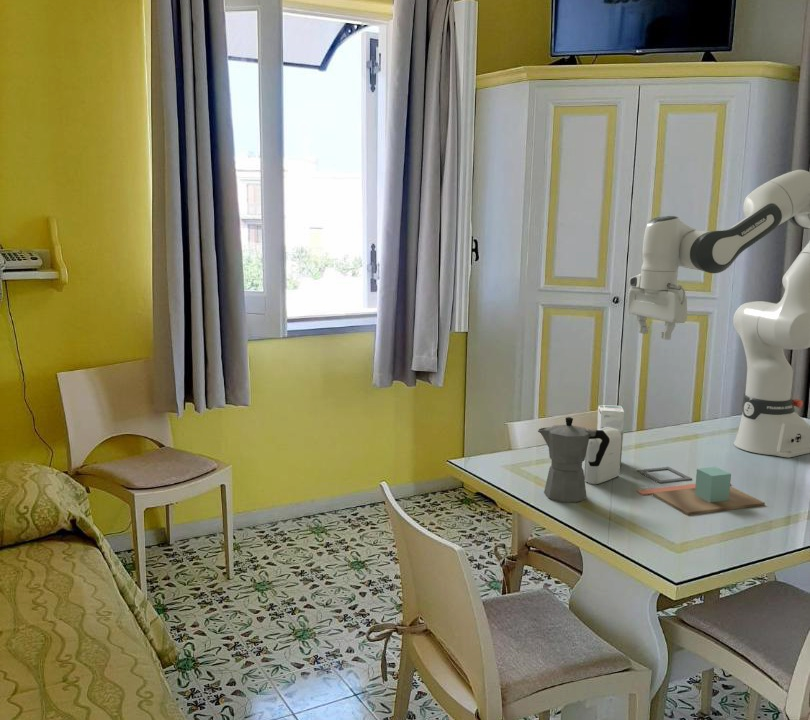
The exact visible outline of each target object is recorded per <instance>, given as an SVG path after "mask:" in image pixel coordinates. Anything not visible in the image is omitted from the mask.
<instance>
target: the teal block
mask: <svg viewBox="0 0 810 720" xmlns="http://www.w3.org/2000/svg"><path fill="white" fill-rule="evenodd" d="M731 479H732V473H730V472H729V471H728V472H727V471H725V470H724V469H721V468H719V467H717V466H713V467H702V468H696V475H695V484H696V485H695V495H696V496H698V497H700V498H702V499H704V500H706V501H708V502H718V501H726V500H729V492H730V486H731V485H730V483H731V482H732V480H731Z"/></svg>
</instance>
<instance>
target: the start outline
mask: <svg viewBox="0 0 810 720" xmlns="http://www.w3.org/2000/svg"><path fill="white" fill-rule="evenodd" d="M657 470H659V471H667V470H668V471H669V472H670V473H674V474H676V475H677V476H680V478H671V479H669V478H668V479H659V478H657V477H655V476H654V475H652V474H649V473H648V472H646V471H649V472H657ZM636 472H638V473H639V472H640V474H641V473H642V475H643V474H644V475H643V476H645V475H646V476H645V477H647V476H648V477H647V478H649V479H651V480H653V481H654V480H655V482H656V481H657V482H656V483H659V484H664V483H665V484H667V483H675V482H683V481H690V480H691V481H692V480H693V478H692V477H690V476H688V475H686V474H684V473H682V472H679V471H678V470H676V469H674V468H671V467H669V466H665V467H664V466H662V467H655V468H645V469H644V468H643V469H637V470H636Z"/></svg>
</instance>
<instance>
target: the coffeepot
mask: <svg viewBox="0 0 810 720" xmlns="http://www.w3.org/2000/svg"><path fill="white" fill-rule="evenodd" d="M573 421H574V418H573V417H570V416H568V417H567V416H566V417H565V424H560V425H559V424H557V425H553V426H550V427H549V426H548V427H541V428H539V429H538V430H537V432H538V433H539V434H540V435H541V436H542V437H543V439H544V442H545V443H546V445H547V447H548V455H549V456H548V457H549V459H550V460H551V463H550V466H549V469H548V472H547V473H548V474H547V478H546V482H545V485H544V486H545V487H544V491H543V493H544V494H545V495H544V496H546V497H547V498H548V499H549V500H552V501H554V502H555V501H556V502H559V503H569V504H570V503H580V502H582V501H584V500H585V498H586V497H587V490H586V488H587V487H586V481H585V479H584V471H585V469H583V462H585V456H586V451H587V446H588V442H589V439H597V438H600V439H601V440H602V442H601V443H600V446H599V451H598V452H597V454H596V460H595V461H594V462H589V464H590V466H599V465H600V462H601V460H602V458H603V456H604V453H605V451H606V449H607V447H608V445H609V442H610V439H609V437H608V436H607V435H606V433H605V432H604V431H602V430H597V429H587V428H586V427H582V426H577V425H573ZM583 499H584V500H583Z"/></svg>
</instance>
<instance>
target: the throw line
mask: <svg viewBox="0 0 810 720" xmlns="http://www.w3.org/2000/svg"><path fill="white" fill-rule="evenodd" d="M695 485H696V483H692V484H691V483H690V484H681V485H673V486H663V487H654V488H645V489H638V490H636V492H637V493H638V494H640V495H642V496H648V494H650V495H653V493H658V492H667V491H675V490H684V489H693V488H695ZM731 485H732V483H731V482H730V486H731Z"/></svg>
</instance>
